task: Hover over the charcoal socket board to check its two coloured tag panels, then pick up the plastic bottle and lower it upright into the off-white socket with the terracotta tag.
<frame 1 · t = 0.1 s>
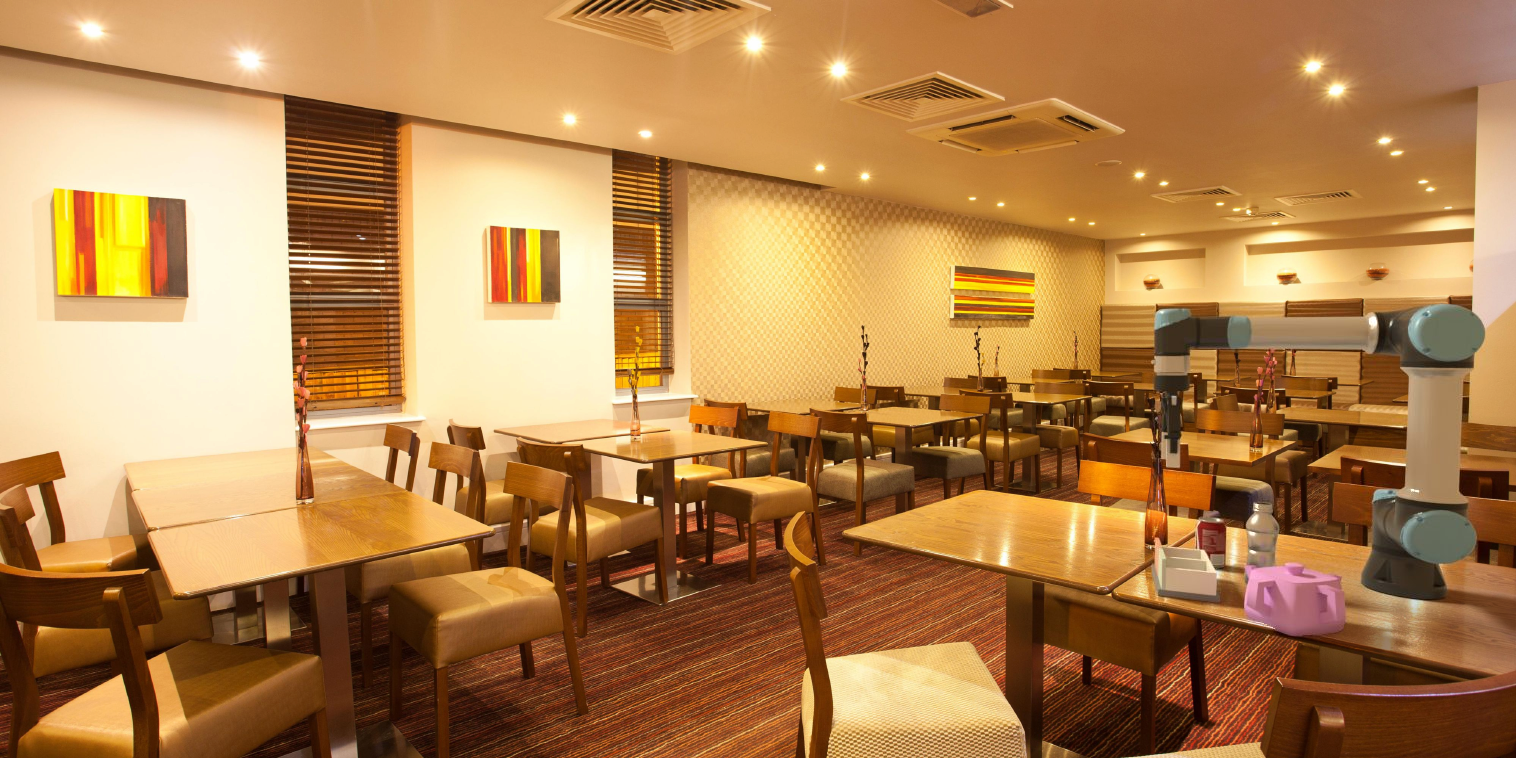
hand: (1170, 463, 181), 28 cm above the table, tool pointing down, fingers open, 13 cm apart
soda can: (1209, 566, 194), on the table
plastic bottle: (1260, 590, 175), on the table
socket board: (1183, 585, 178), on the table
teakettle: (1292, 624, 155), on the table
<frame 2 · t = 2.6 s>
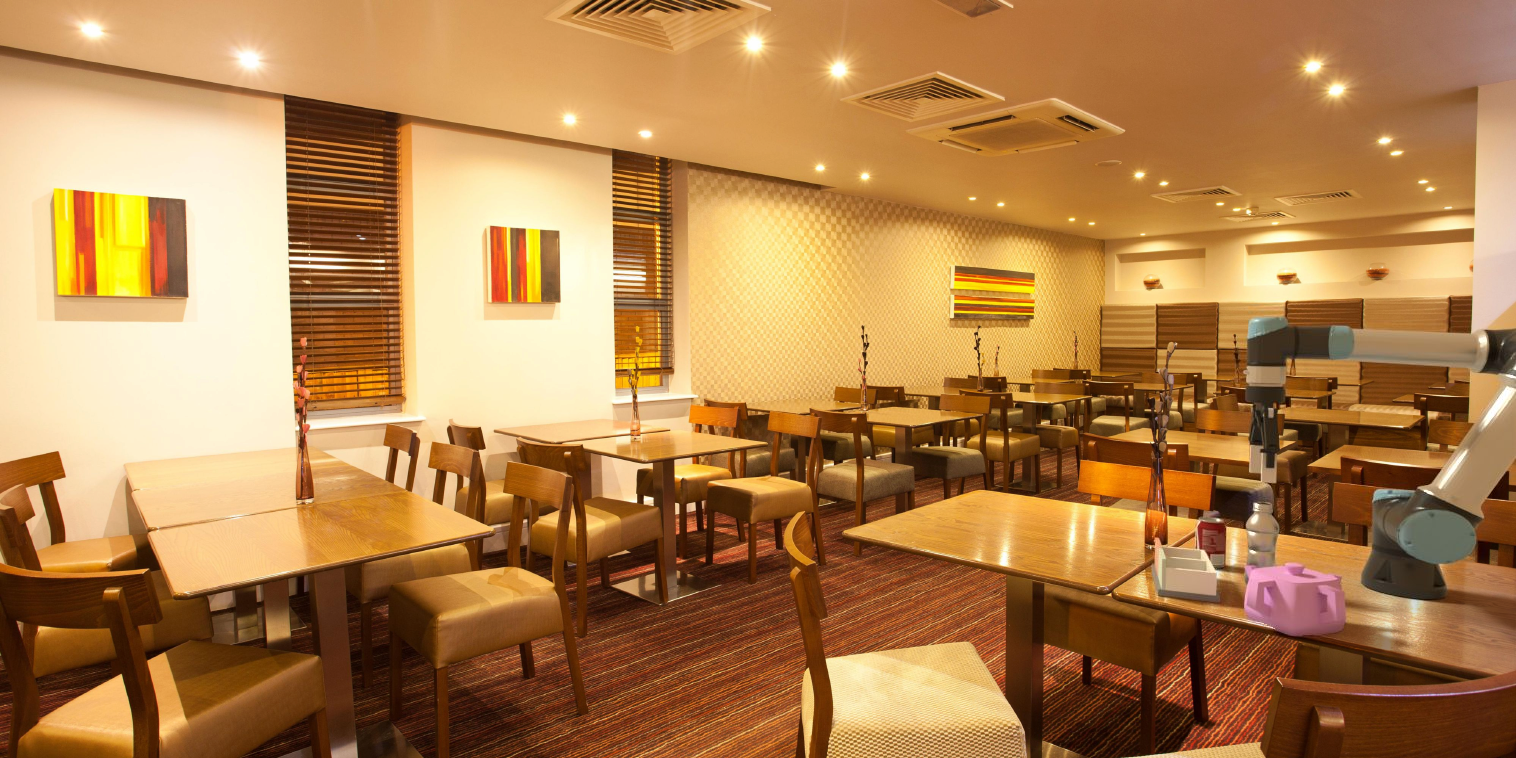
hand: (1262, 477, 174), 26 cm above the table, tool pointing down, fingers open, 13 cm apart
nothing on the table moved.
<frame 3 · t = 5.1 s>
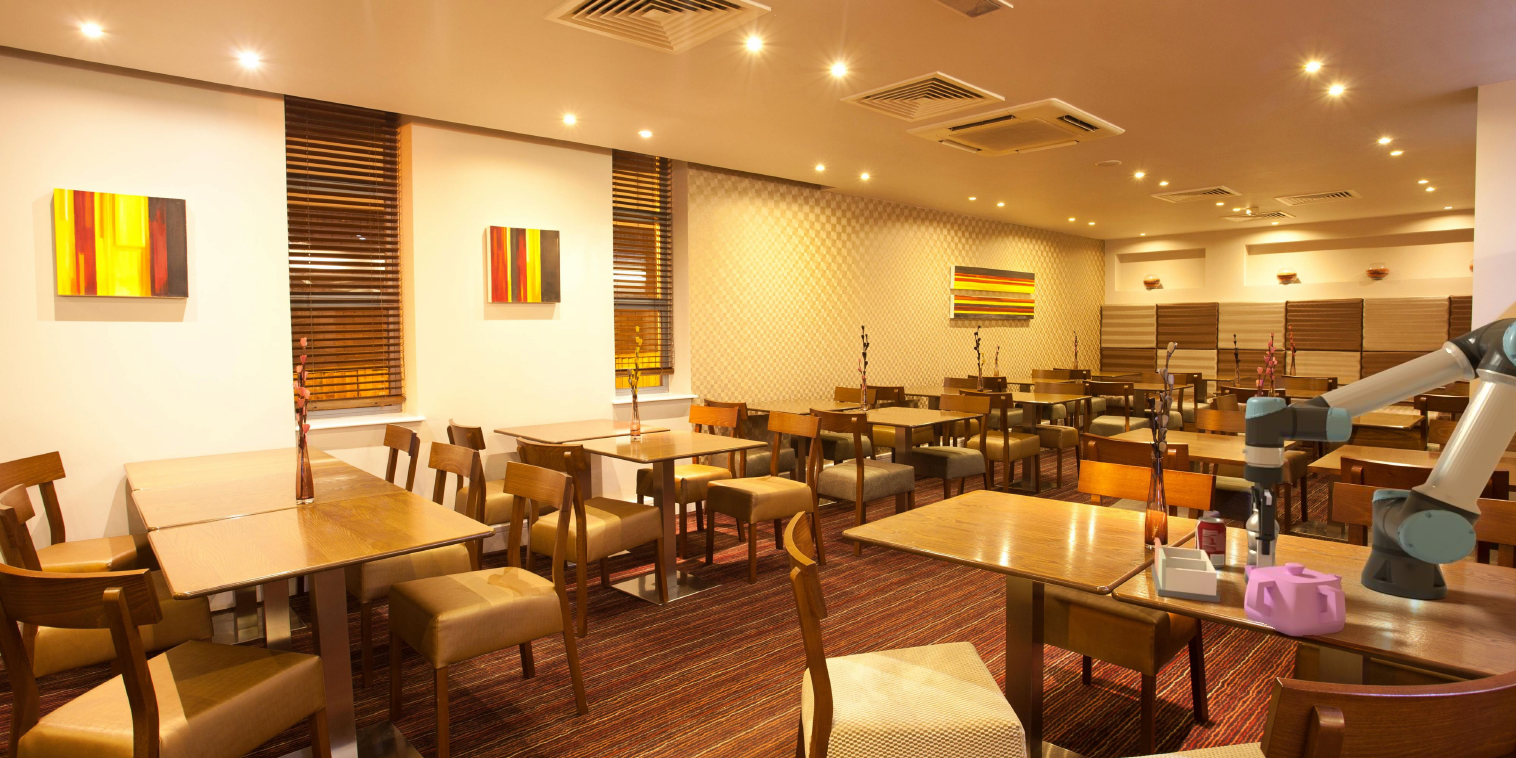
hand: (1261, 563, 175), 6 cm above the table, tool pointing down, fingers closed on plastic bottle, 6 cm apart
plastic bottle: (1260, 590, 175), on the table, touching gripper
everything else where it was.
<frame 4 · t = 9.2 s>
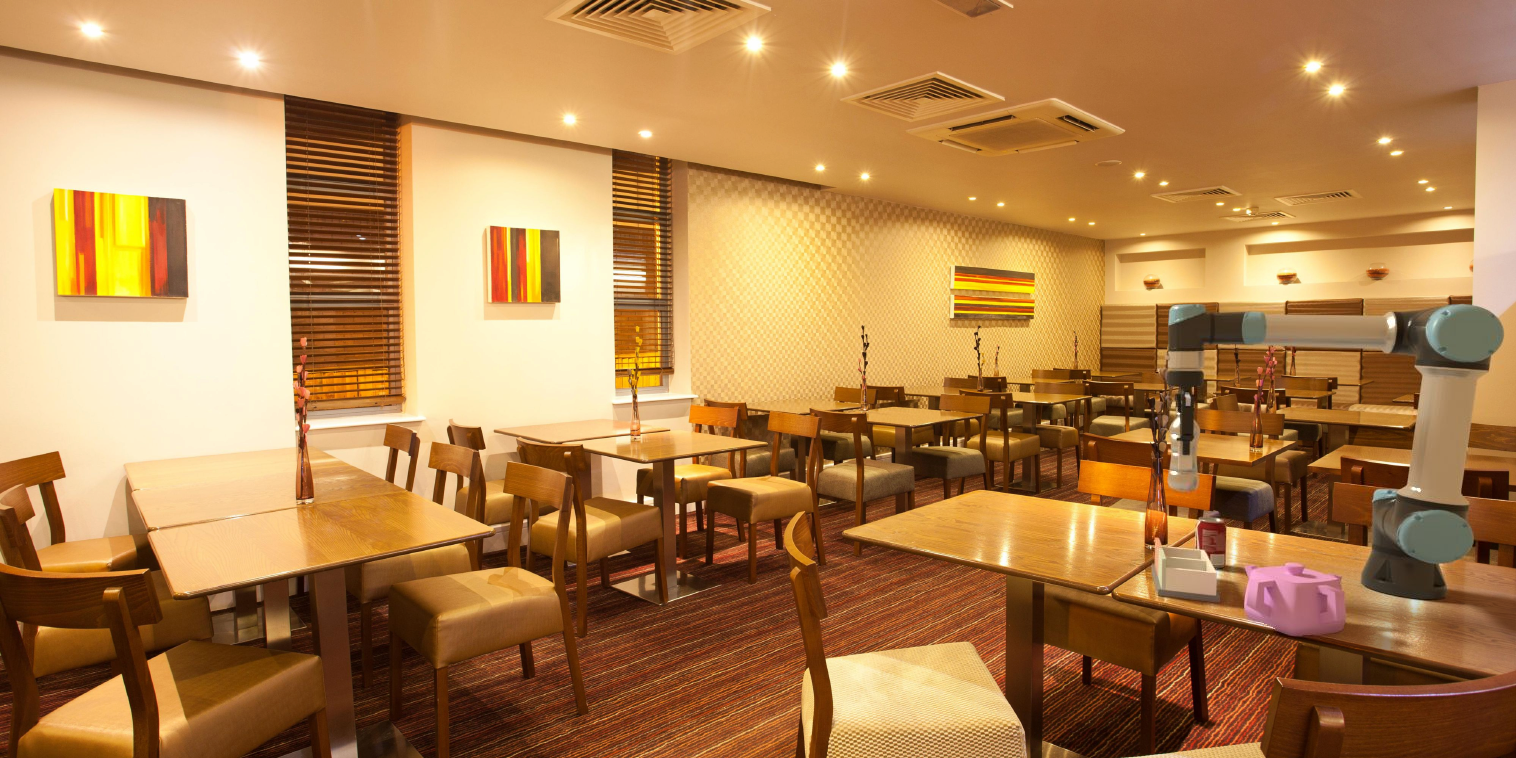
hand: (1183, 466, 181), 27 cm above the table, tool pointing down, fingers closed on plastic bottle, 6 cm apart
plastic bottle: (1183, 491, 182), point 21 cm above the table, touching gripper
everything else where it was.
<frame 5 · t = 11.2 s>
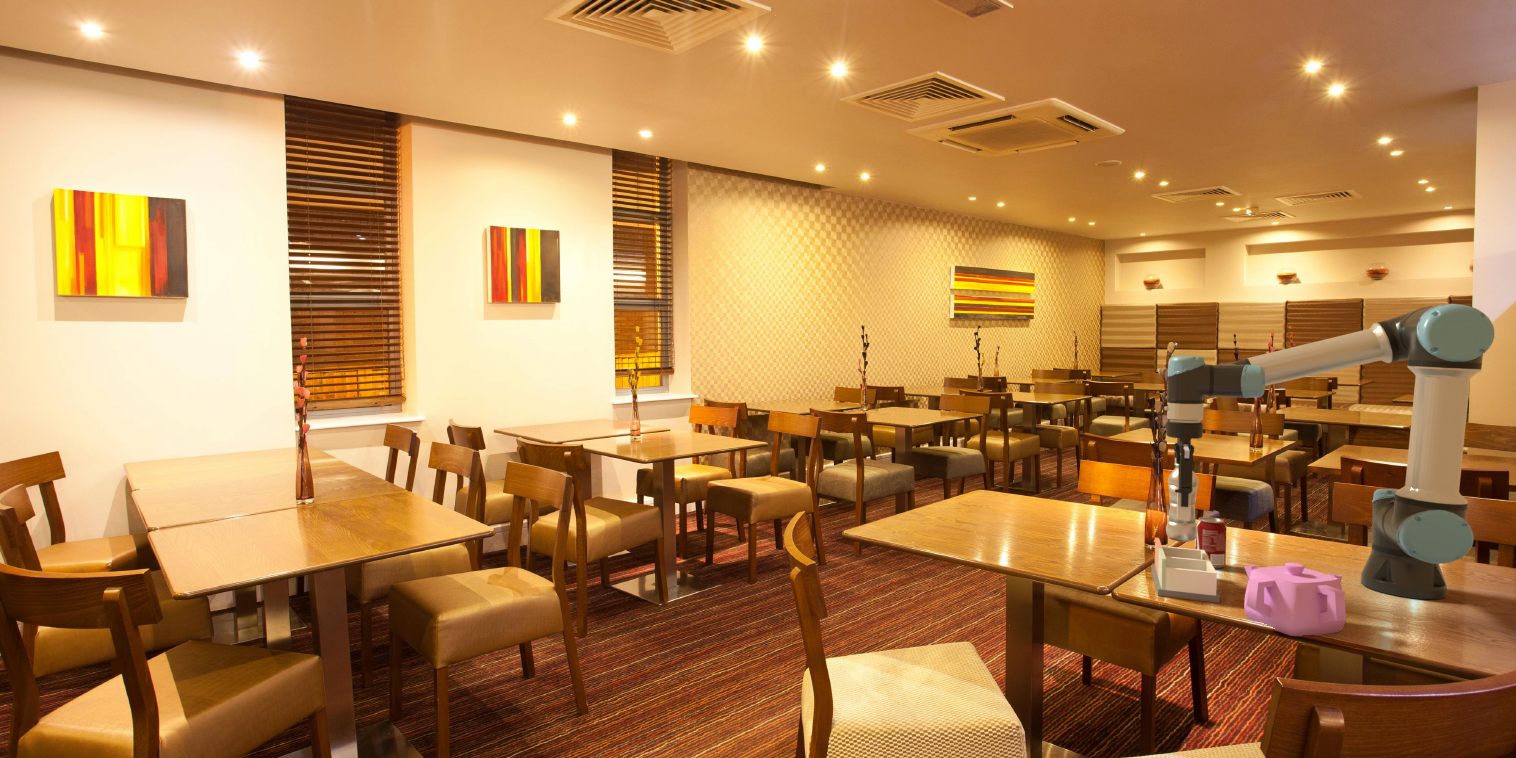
hand: (1182, 516, 182), 15 cm above the table, tool pointing down, fingers closed on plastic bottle, 6 cm apart
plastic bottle: (1181, 541, 182), point 9 cm above the table, touching gripper
everything else where it was.
when the fingers open (9 cm above the table, at t = 13.2 s): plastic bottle drops 2 cm, resting on socket board.
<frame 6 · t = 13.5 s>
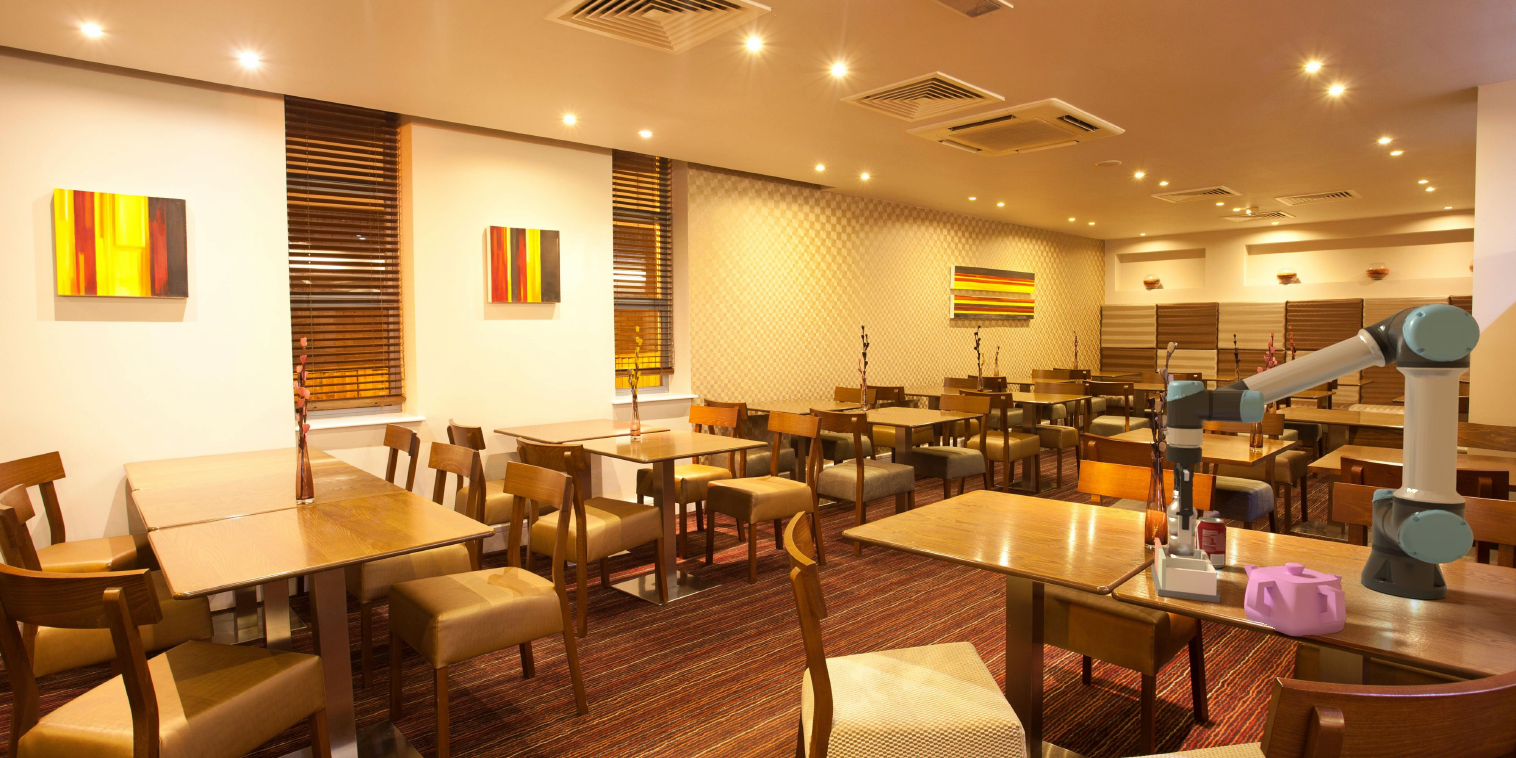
hand: (1182, 537, 182), 10 cm above the table, tool pointing down, fingers open, 10 cm apart
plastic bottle: (1181, 574, 182), point 1 cm above the table, touching socket board
everything else where it was.
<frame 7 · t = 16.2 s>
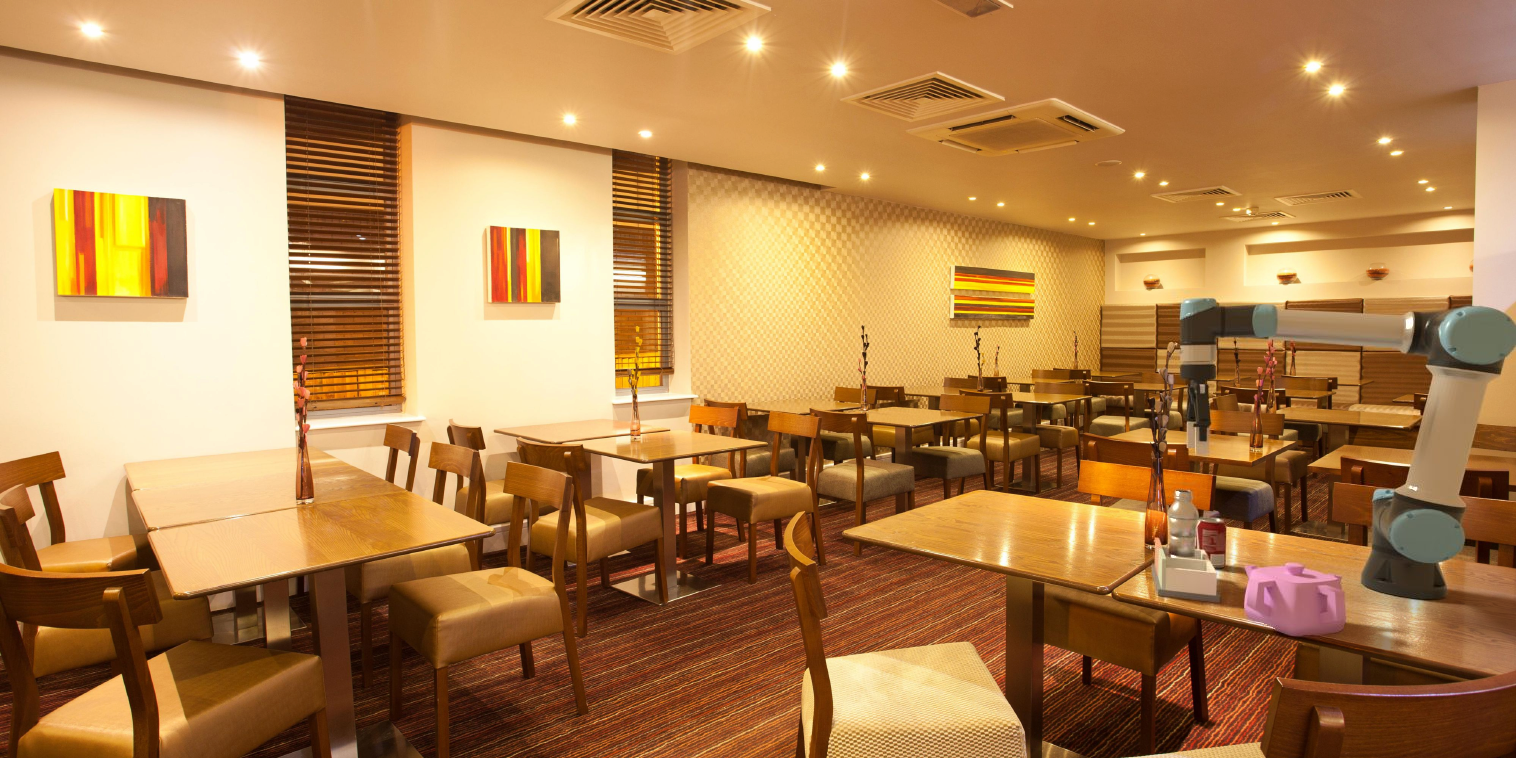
hand: (1197, 451, 183), 31 cm above the table, tool pointing down, fingers open, 13 cm apart
nothing on the table moved.
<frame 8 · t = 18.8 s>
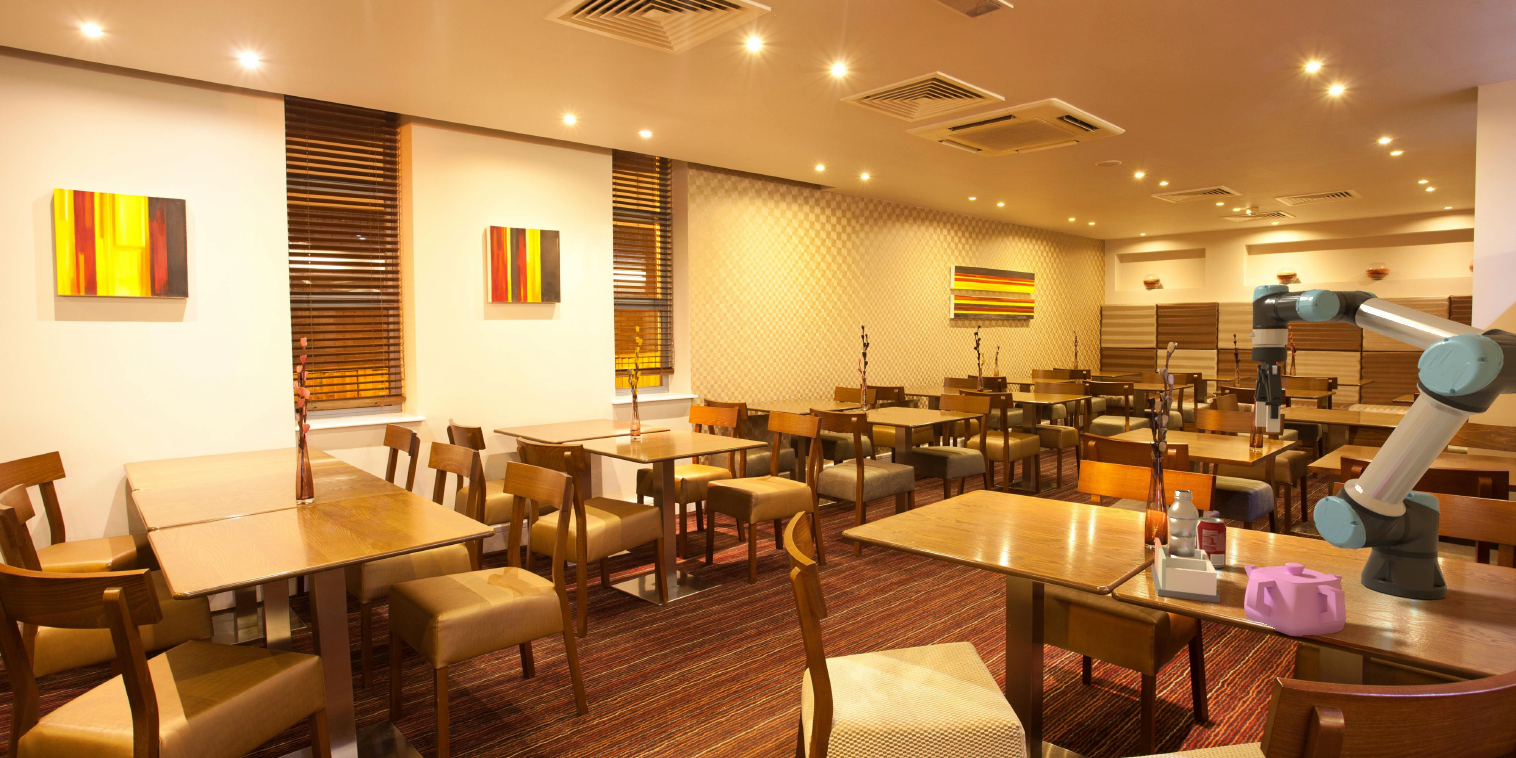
hand: (1267, 429, 195), 35 cm above the table, tool pointing down, fingers open, 13 cm apart
nothing on the table moved.
at the end: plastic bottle 0.2 cm from the target spot on the socket board, point 1.3 cm above the socket board's base; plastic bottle tilted 0°; the gripper is holding nothing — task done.
